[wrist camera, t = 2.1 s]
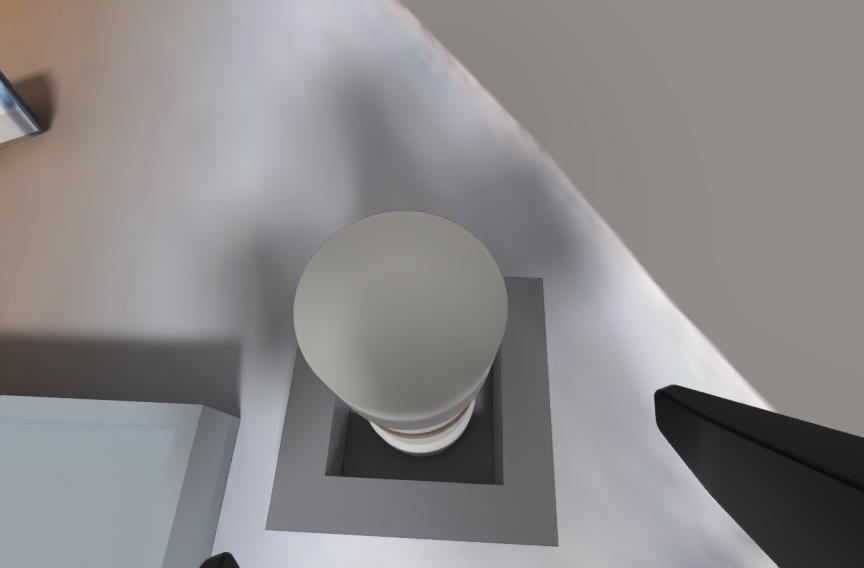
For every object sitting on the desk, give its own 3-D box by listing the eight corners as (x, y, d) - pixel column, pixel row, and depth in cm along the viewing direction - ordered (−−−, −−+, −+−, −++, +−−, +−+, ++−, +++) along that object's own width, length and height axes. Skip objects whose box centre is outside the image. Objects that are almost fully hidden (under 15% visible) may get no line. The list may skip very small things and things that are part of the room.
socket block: (540, 538, 18) (558, 546, 15) (291, 524, 18) (265, 529, 16) (529, 304, 22) (542, 278, 19) (327, 296, 22) (311, 269, 20)
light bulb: (470, 459, 19) (510, 415, 8) (367, 453, 19) (274, 404, 8) (471, 358, 21) (505, 213, 10) (377, 354, 21) (311, 208, 10)
